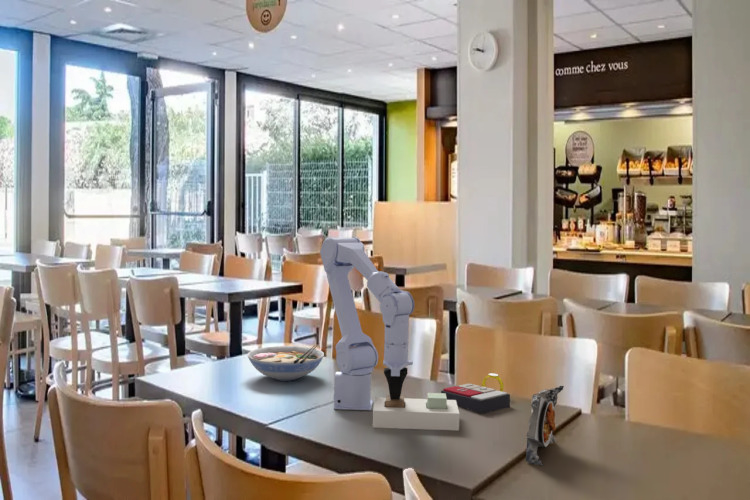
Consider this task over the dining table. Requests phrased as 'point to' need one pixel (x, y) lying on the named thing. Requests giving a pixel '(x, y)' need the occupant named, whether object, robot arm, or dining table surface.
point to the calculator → (478, 398)
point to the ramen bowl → (285, 361)
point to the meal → (541, 422)
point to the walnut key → (395, 402)
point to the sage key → (436, 401)
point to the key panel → (415, 415)
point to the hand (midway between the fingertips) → (395, 398)
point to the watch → (493, 377)
